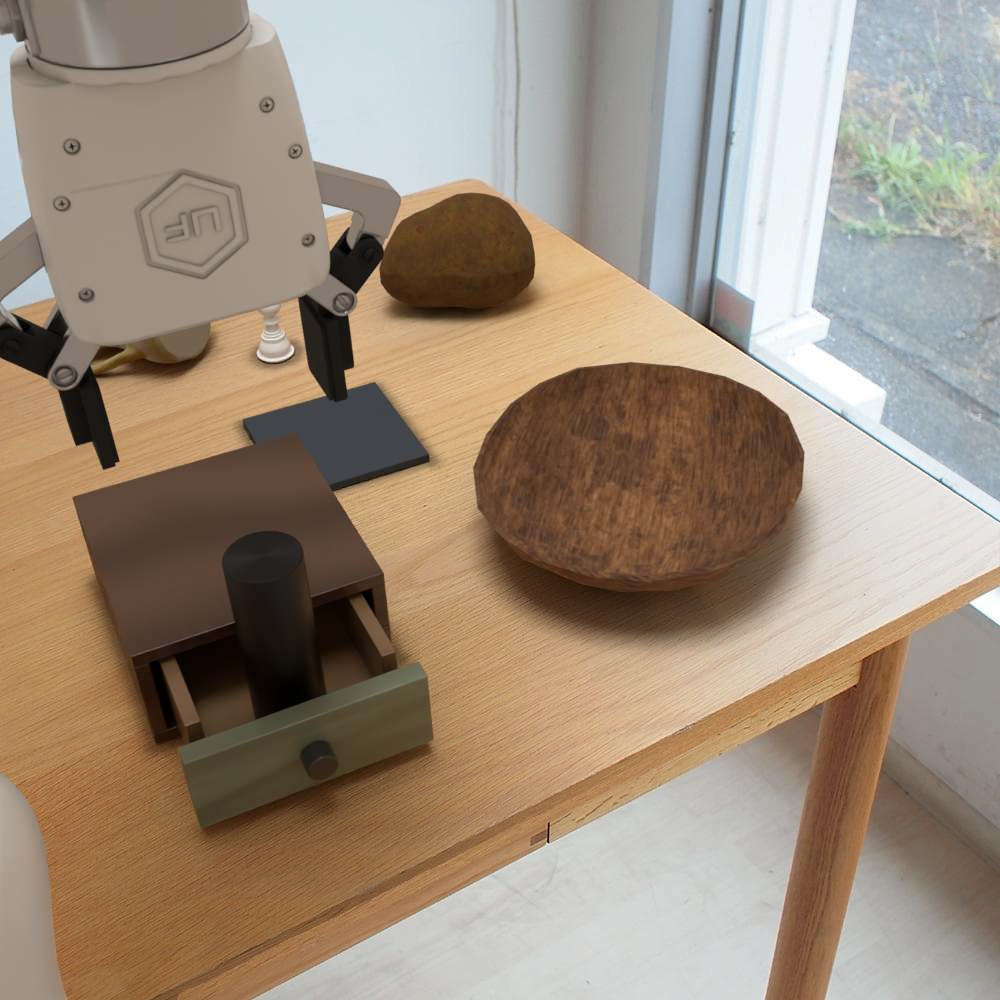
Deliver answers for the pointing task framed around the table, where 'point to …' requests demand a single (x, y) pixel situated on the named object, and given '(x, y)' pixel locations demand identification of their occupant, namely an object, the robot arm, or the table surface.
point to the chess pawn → (273, 338)
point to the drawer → (293, 715)
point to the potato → (459, 254)
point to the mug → (160, 348)
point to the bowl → (639, 475)
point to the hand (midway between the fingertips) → (219, 416)
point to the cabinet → (212, 551)
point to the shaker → (274, 620)
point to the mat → (345, 435)
